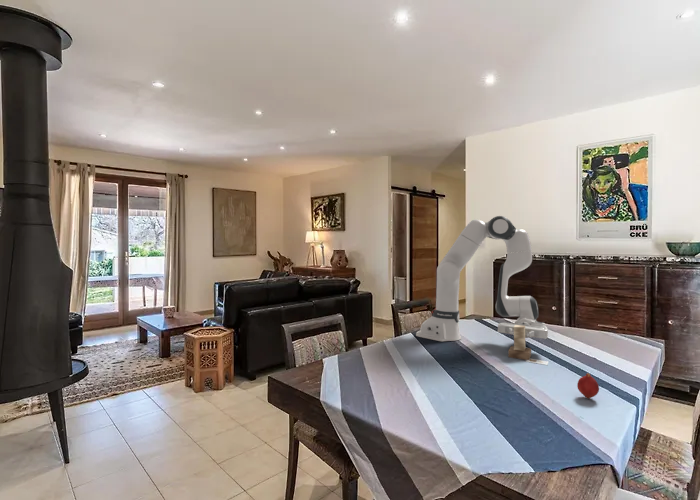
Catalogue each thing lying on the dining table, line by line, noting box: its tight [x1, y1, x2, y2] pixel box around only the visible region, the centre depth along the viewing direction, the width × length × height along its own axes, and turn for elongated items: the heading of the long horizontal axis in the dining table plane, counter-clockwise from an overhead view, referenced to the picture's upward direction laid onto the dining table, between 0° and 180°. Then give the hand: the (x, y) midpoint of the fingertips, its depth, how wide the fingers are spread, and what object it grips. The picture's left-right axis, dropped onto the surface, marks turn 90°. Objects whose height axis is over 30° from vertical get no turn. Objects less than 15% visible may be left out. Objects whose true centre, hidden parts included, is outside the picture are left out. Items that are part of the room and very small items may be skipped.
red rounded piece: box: [576, 373, 600, 399], centre depth 118 cm, size 6×6×8 cm
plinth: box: [508, 345, 532, 361], centre depth 161 cm, size 8×8×3 cm
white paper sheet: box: [525, 358, 549, 366], centre depth 154 cm, size 8×5×1 cm, turn 59°
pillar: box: [513, 325, 526, 351], centre depth 161 cm, size 4×4×10 cm
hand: (520, 333), depth 160 cm, fingers open, 5 cm apart
